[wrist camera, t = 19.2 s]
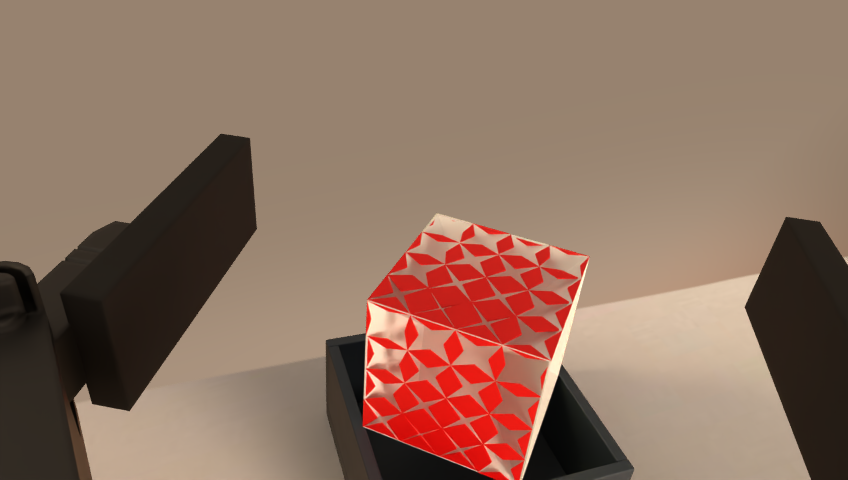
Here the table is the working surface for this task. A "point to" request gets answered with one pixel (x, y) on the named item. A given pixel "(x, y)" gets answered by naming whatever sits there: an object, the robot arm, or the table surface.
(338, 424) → the bin
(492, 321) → the red patterned cube
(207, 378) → the table surface
